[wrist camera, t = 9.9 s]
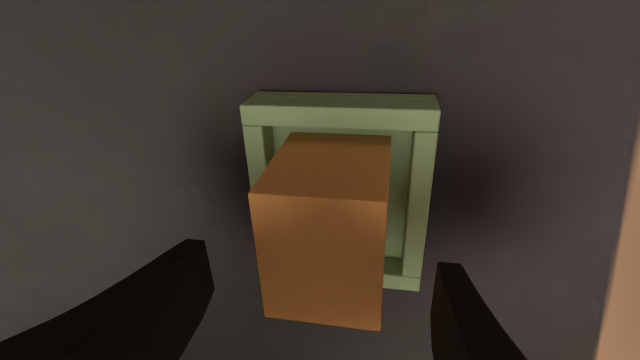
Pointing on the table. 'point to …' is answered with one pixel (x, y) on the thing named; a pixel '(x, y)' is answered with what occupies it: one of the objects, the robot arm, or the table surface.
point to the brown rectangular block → (323, 229)
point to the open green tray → (361, 119)
